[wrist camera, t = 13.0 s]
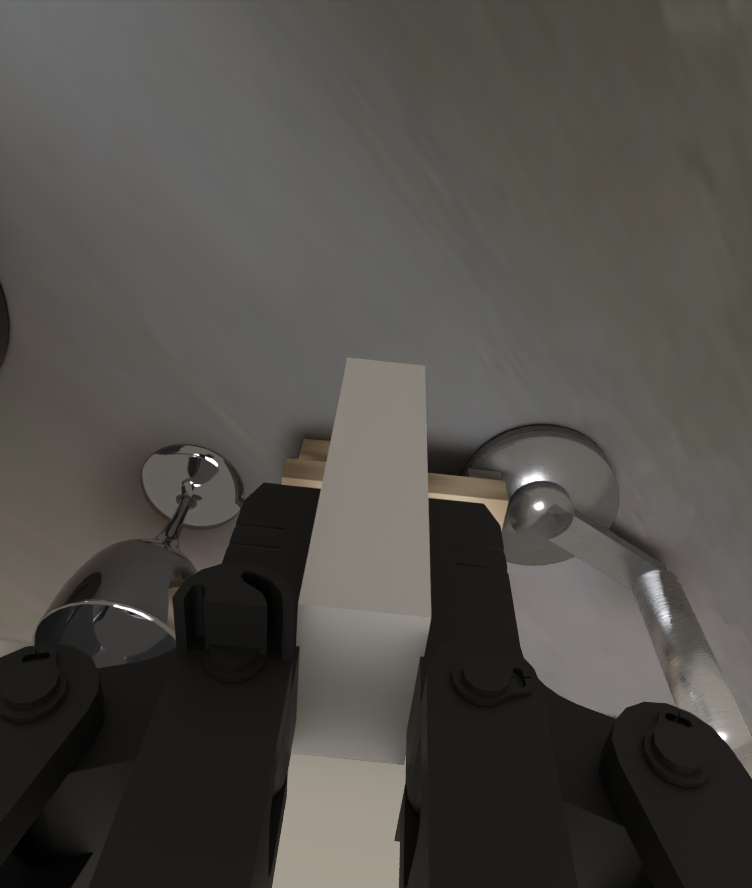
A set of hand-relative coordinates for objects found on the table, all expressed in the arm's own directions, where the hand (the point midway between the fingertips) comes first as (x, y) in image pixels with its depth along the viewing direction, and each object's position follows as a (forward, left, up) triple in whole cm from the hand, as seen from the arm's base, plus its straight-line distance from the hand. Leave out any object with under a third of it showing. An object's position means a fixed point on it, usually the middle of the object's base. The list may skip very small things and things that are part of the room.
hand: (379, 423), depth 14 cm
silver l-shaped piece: (+14, -21, -26) cm, 36 cm away
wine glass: (-12, -22, -27) cm, 37 cm away
